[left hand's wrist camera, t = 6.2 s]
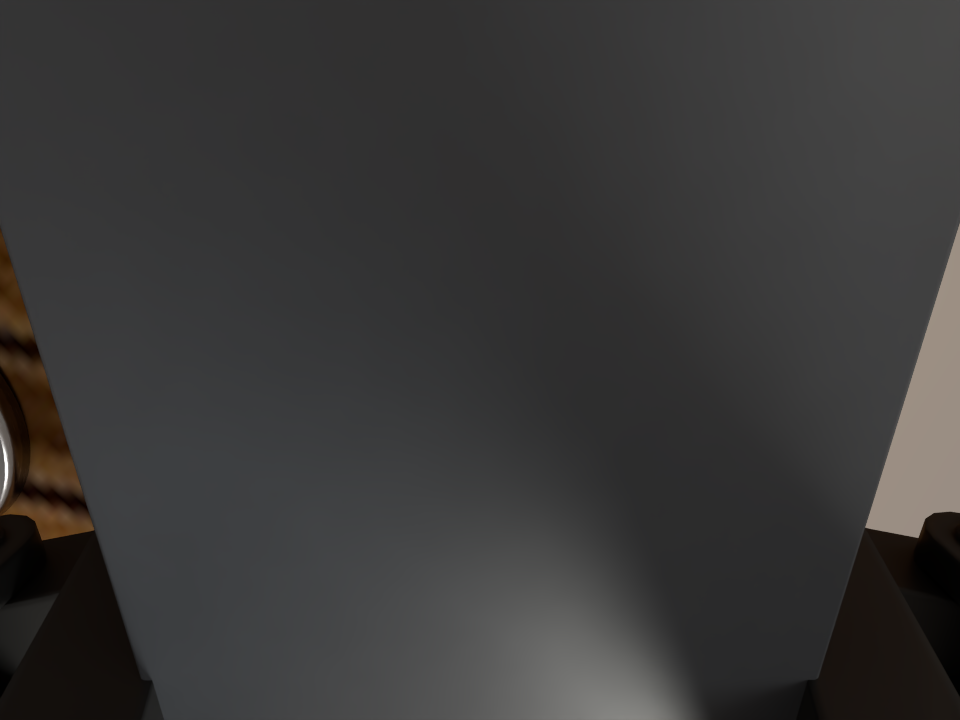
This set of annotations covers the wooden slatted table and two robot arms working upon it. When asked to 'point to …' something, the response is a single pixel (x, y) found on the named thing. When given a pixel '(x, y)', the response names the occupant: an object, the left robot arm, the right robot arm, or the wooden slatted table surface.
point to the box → (479, 335)
